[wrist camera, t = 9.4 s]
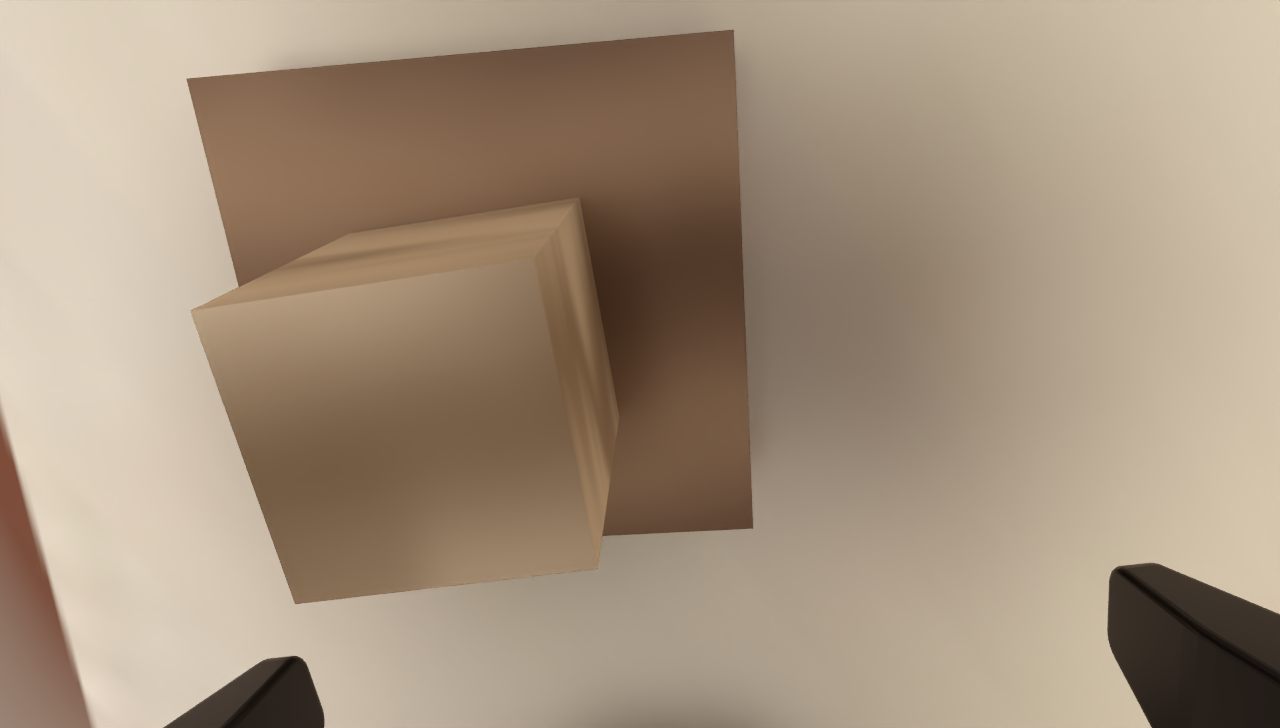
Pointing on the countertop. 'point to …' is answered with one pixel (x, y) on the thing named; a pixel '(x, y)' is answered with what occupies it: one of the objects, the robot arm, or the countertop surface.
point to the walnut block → (526, 175)
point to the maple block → (424, 403)
